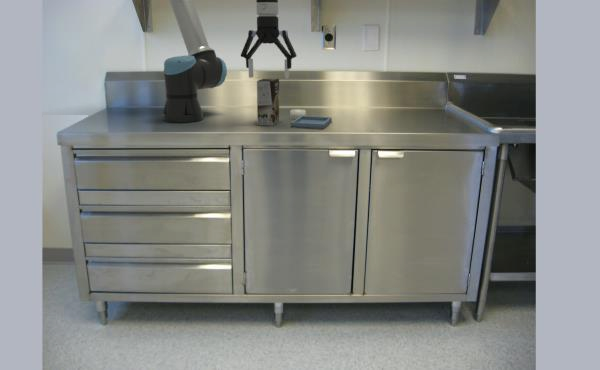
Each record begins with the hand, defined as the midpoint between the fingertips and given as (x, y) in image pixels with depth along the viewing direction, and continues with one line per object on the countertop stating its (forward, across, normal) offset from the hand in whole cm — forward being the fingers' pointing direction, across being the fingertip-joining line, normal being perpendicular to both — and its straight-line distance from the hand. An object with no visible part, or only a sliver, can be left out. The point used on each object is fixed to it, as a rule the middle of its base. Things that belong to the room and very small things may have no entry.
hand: (268, 77), depth 181 cm
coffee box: (+17, 0, 0) cm, 17 cm away
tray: (+17, +16, +2) cm, 23 cm away
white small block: (+17, +8, +12) cm, 22 cm away
